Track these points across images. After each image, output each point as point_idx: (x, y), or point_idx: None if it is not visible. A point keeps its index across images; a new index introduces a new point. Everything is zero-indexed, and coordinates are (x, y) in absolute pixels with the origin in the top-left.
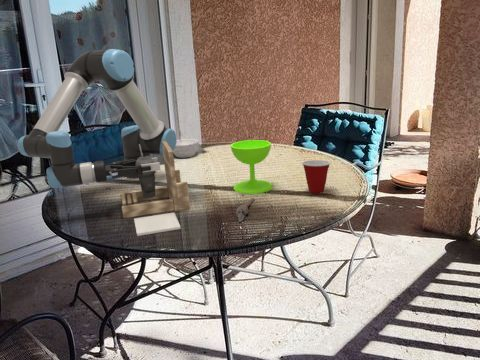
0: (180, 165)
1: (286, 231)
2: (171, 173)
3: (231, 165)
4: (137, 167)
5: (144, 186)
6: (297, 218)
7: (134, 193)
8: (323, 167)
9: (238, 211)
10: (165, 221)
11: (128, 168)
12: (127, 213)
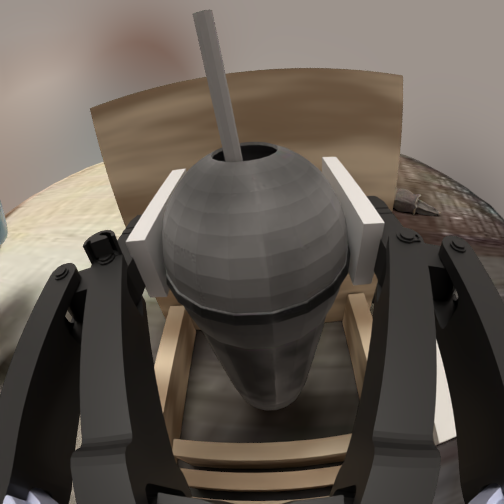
0: (4, 271)
1: (456, 188)
2: (395, 183)
3: (87, 206)
4: (464, 246)
5: (310, 363)
6: (412, 173)
7: (201, 446)
8: None
9: (417, 202)
10: None
11: (494, 328)
12: None
